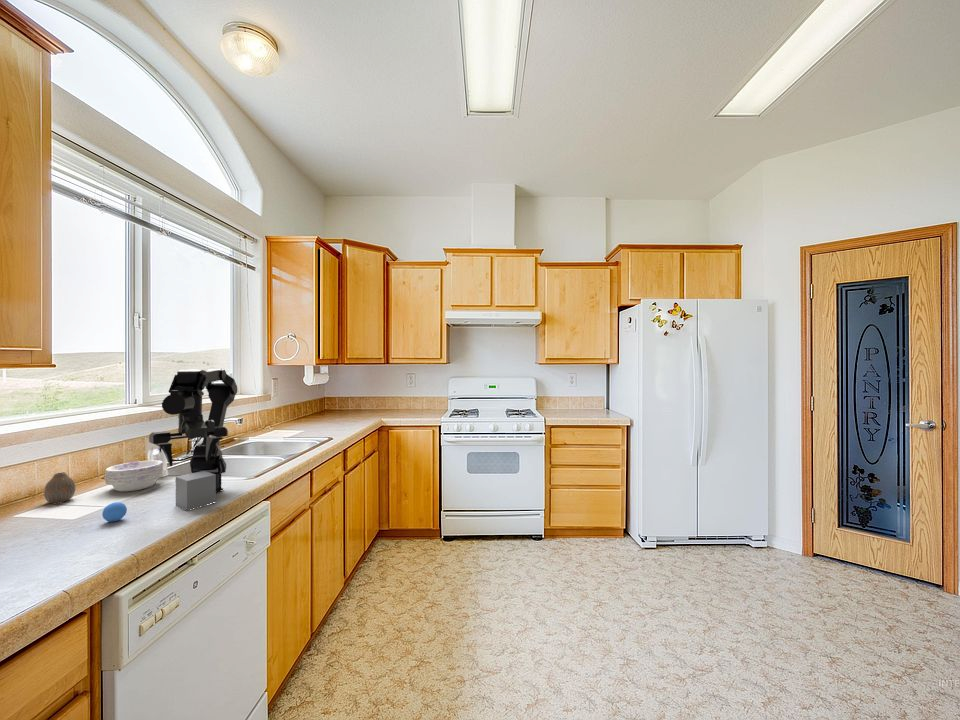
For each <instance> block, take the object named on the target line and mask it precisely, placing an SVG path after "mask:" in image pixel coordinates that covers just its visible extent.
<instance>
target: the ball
mask: <svg viewBox="0 0 960 720" xmlns="http://www.w3.org/2000/svg"><path fill="white" fill-rule="evenodd" d="M127 509H128V508H127V506H126V504H124V503H123V502H119V501H118V502H117V501H116V502H112V503H109V504H107V505H106V506H104V508H103V511H102V514H101V516H102V518H103V519H104V520H105V521H106V522H110V523H111V522H117V521H120V520H121V519H123V518H124V517H125V516H126V514H127V511H128V510H127Z"/></svg>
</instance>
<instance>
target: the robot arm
mask: <svg viewBox="0 0 960 720" xmlns="http://www.w3.org/2000/svg"><path fill="white" fill-rule="evenodd" d="M205 389H206V391H207V393H208V395H207V396H208V398H209V400H210V402H211V406H210V410H209V414H208V419H207V420H205V421H204V416H203V415H204V414H203V396H204V391H203V390H205ZM237 393H238V385H237V382H236V381H235V378H233V377H232V376H230V375H229V374H227V372H226V370H225V369H223V368H209V369H205V370H203V369H179V370H178V371H177V372H176V373H175V375H174V377H173V379H172V382H171V384H170V386H169V389H168V394H169V395H167V396H166V397H165V398H163V399H162V402H161V407H162V410H163V411H164V412H165V413H166V414H168V415H172V416H173V415H175V416H176V415H177V418H178V428H177V432H170V431H167V430H165V431H163V430H162V431H153V432H151V433H150V434H149V435H148V437H149V442H150V443H152V444H155V445H157V446H160V447H161V449H162V450H163V452H164V454H165V456H166V458H167V464H168V465H169V467H172V466H173V453H172V446H173V443H172V442H171V440H179V439H181V440H182V439H188V440H193V439H194V440H195V439H197V438H202V443H201V444H199V445H196V446H195V447H194V448H193V454H192V455H191V458H190V461H189V466H190V471H191V473H196V472H201V471H206V472H209V473H212V474H215V475H216V491H219V492H221V491H220V490H223V489H224V488H222V474H224V473H226V472H227V463H226V461H225V459H224V457H223V452H222V449H221V447H220V442H221V440H223V439H224V437H228V436H229V435H228V433H229V431H228V427H225V426H224V422H225V417H226V414H227V409H228V407H229V405H231V404H232V403H233V402H234V400H235V398H236V395H237ZM169 441H170V443H169ZM191 473H190V474H191ZM223 491H224V490H223Z"/></svg>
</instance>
